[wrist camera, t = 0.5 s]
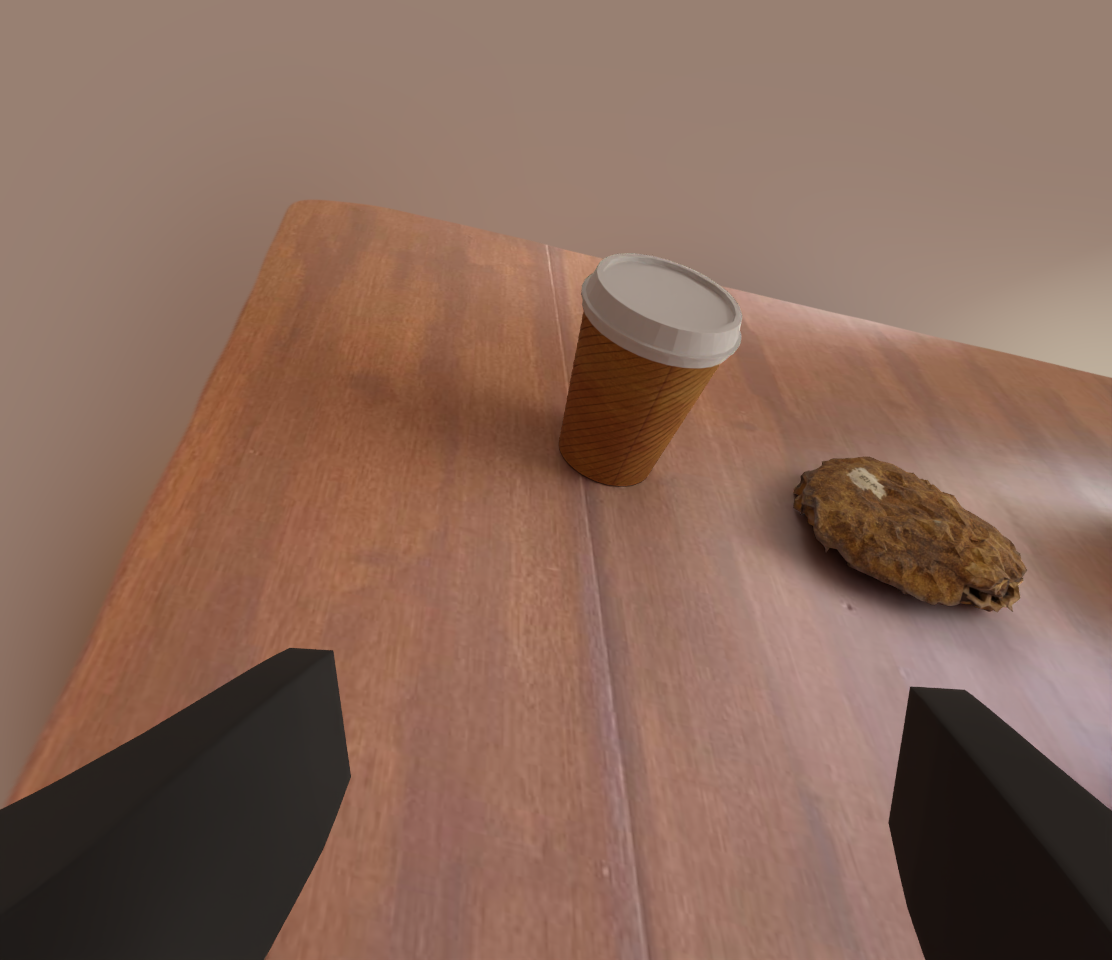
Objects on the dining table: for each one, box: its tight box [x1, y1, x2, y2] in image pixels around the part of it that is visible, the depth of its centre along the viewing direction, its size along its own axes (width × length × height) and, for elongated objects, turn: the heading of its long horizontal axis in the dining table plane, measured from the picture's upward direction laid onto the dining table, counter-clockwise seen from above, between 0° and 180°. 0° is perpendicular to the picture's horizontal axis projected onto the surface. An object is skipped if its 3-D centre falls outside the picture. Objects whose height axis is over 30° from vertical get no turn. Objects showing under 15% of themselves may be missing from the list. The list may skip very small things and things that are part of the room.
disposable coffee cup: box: [559, 253, 742, 486], centre depth 48 cm, size 10×10×12 cm
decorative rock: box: [793, 457, 1027, 612], centre depth 51 cm, size 11×4×15 cm
